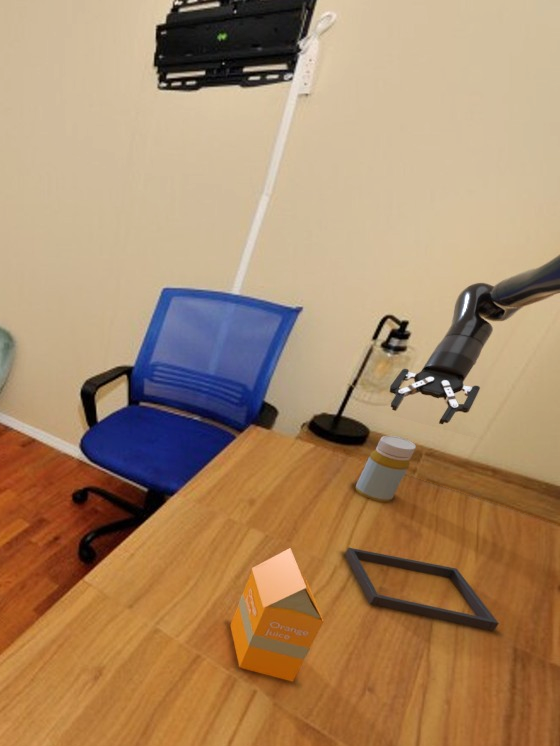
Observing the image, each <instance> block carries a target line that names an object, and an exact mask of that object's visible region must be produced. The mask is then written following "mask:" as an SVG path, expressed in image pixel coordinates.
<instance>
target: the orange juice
mask: <svg viewBox="0 0 560 746" xmlns="http://www.w3.org/2000/svg"><path fill="white" fill-rule="evenodd" d="M324 622H325V620H324V619H323V616H322V613H321V611H320V609H319V606H318V604H317V601H316V599H315V597H314V594H313V592H312V590H311V587H310V585H309V582H308V580H307V578H305V575H304V574H303V572H302V570H301V568H300V566H299V563H298V562H297V561H296V559H295V556H294V553H293V551H292V547H289V548H287V549H285V550H284V551H281V552H279V553H278V554H276V555H274V556H272V557H269V558H268V559H266V560H264V561H263V562H261V563H259V564H257V565H255V566H253V567H251V572H250V574H249V577H248V579H247V582H246V585H245V587H244V590H243V592H242V594H241V596H240V599H239V601H238V605H237V607H236V610H235V613H234V615H233V618H232V620H231V622H230V630H231V635H232V640H233V644H234V648H235V653H236V654H235V655H236V658H237V662H238V667H239V669H243V670H248V671H251V672H255V673H258V674H261V675H267V676H269V677H274V678H277V679H281V680H285V681H288V682H294V681H295V678H296V677H297V674H298V673H299V670H300V668H301V666H302V664H303V662H304V661H305V659H306V658H307V656H308V654H309V652H310V650H311V647H312V645H313V643H314V641H315V639H316V637H317V636H318V634H319V631H320V630H321V628H322V626H323V624H324Z"/></svg>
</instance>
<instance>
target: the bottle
mask: <svg viewBox="0 0 560 746" xmlns="http://www.w3.org/2000/svg"><path fill="white" fill-rule="evenodd" d="M377 443H378V444H377V446H376V448H375V449H374V450H373V451H372V452H371V453H370V455H369V456H368V459H367V461H366V464H365V465H364V467H363V469H362V471H361V474H360V476H359V478H358V480H357V482H356V485H355V490H356V492H357V493H359V494H360V495H361V496H363V497H365V498H367V499H371V500H373V501H377V502H382V503H383V502H384V503H385V502H390V501H392V499H393V498H394V496H395V494H396V493H397V491H398V488H399V486H400V485H401V483H402V481H403V479H404V477H405V475H406V473H407V471H408V469H409V468H410V465H411V463H410V461H411V460H410V459H412V456H413V455H414V452H415V451H416V447H417V446H416V444H415V443H414V442H412V441H411V440H408V439H406V438H404V437H401V436H400V437H399V436H395V435H383V436H381V437H380V439H379V441H378V442H377Z"/></svg>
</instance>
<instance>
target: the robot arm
mask: <svg viewBox="0 0 560 746" xmlns="http://www.w3.org/2000/svg"><path fill="white" fill-rule="evenodd" d="M559 294H560V254H558V255H557V256H555V257H554V258H552V259H551V260H549V261H547V262H546V263H544V264H542V265H540V266H537V267H535V268H531V269H528V270H525V271H523V272H519V273H517V274H515V275H513V276H510V277H508V278H504V279H503V280H501V281H498V282H497V283H496V284H494V285H492V284H489V283H486V282H476V283H472V284H470V285H468V286H466V287H465V288H463V290H462V291H460V293H459V295H458V296H457V298H456V300H455V304H454V309H453V316H452V320H451V325H450V326H449V329H448V330H447V332H446V333H445V335H444V337H443V338H442V340H441V341H440V342H439V343H438V344H437V346H436V347H435V348H434V350H433V352H432V353H431V354H430V356H429V358H428V359H427V361H426V362H425V364H424V366H423V367H422V369H421V370H420V371H419V372H418V373H416V372H415V373H414V372H411V371H409V369H408V368H402V370H401V371H400V373H399V374H397V376H396V378H395V379H394V380H393V382H392V383H391V384H390V386H389V393H390V394H394V395H395V396H394V397H393V399H392V401H390V402H391V403H390V408H392V409H391V410H392V411H395V412H397V410H398V408H399V407H400V406H401V404H402V402H403V401H404V398H405V397H408V396H412V395H416V394H419V393H420V394H421V395H424V396H430V397H432V398H435V399H443V401H444V403H445V405H446V406H447V408H446V410H445V411H444V413H443V414H442V416H441V418H439V422H438V424H439V425H444V424H448V423H449V422H451V420H452V419H453V417H454V415H455V413H457V412H461V413H466V414H467V413H470V410H471V409H472V406H473V404H474V402H475V400H476V398H477V396H478V394H479V392H480V389H481V387H480V386H479V385H473V386H469V385H464V382H465V380H466V378H467V377H468V375H469V373H470V372H471V371H472V369H473V367H474V366H475V365H476V364H477V361H478V359H479V357H480V356H481V353H482V350H483V348H484V346H485V345H486V344H487V342H488V341H489V339H490V337H491V336H492V333H493V330H494V327H493V325H492V324H491V323H499V322H500V323H501V322H505V321H506V320H507V321H508V319H510V318H512V317H513V316H514V315H515V314H516V313H517V312H518V311H520V310H521V309H523V308H524V307H526V306H530V305H533V304H536V303H539V302H542V301H544V300H547V299H549V298H552V297H553V296H556V295H559ZM490 322H491V323H490ZM411 379H413V380H414V382H413V383H410V384H409V385H408V386H405V387H402V388H400V387H401V386H402V384H403V383H404V382H405V381H406V382H407V381H410V380H411ZM461 391H463V395H464V396H465V397H466V399H465V401H464V403H458V400H457V399H456V394H457V393H459V392H461Z"/></svg>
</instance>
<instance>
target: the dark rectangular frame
mask: <svg viewBox="0 0 560 746" xmlns="http://www.w3.org/2000/svg"><path fill="white" fill-rule="evenodd" d="M344 556H345V558H346V561H347V562H348V564H349V566H350V568H351V570H352V572H353V574H354V576H355V578H356V579H357V581H358V583H359V586H360V588H361V589H362V591H363V594H364V595H365V597H366V598H367V600H368V603H369V604H370V605H372V606H376V607H377V606H378V607H381V608H387V609H390V610H394V611H395V610H396V611H401V612H404V613H409V614H414V615H418V616H422V617H427V618H432V619H434V620H435V619H436V620H441V621H445V622H450V623H453V624H458V625H463V626H468V627H472V628H477V629H481V630H486V631H490V632H494V631H495V629H496V628H497V627H498V625H499V621H498V620H497V619H496V618H495V617H494V615H493V614H492V612H491V611H490V610H489V608H488V607H487V606H486V604H485V603H484V602H483V601H482V599H481V598H480V597H479V595H478V594H477V593H476V591H474V589H473V588H472V586H471V585H470V584H469V582H467V580H466V579H465V577H464V576H463V575H462V573H461V572H460V571H459V569H458V568H456V567H452V566H451V567H450V566H445V565H440V564H435V563H430V562H424V561H419V560H415V559H409V558H404V557H399V556H395V555H390V554H384V553H380V552H379V553H378V552H373V551H368V550H364V549H358V548H353V547H347V549H346V551H345V553H344ZM361 561H364V562H368V563H372V564H373V563H374V564H378V565H384V566H388V567H393V568H398V569H403V570H408V571H413V572H417V573H424V574H428V575H433V576H439V577H443V578H449V580H450V581H451V582H452V584H453V586H454V587H455V588H456V589H457V591H458V592H459V593H460V595H461V596H462V597H463V599H464V600H465V601H466V603H467V605H468V606H469V607H470V608H471V610H472V611H473V612H474V614H469V613H465V612H460V611H456V610H451V609H447V608H441V607H437V606H433V605H428V604H423V603H420V602H419V603H418V602H415V601H409V600H404V599H400V598H395V597H390V596H386V595H381V594H378V592H377V590H376V588H375V587H374V584H373V583H372V581H371V579H370V578H369V576H368V573H367V572H366V570H365V568H364V566H363V564H362V563H361Z"/></svg>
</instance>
